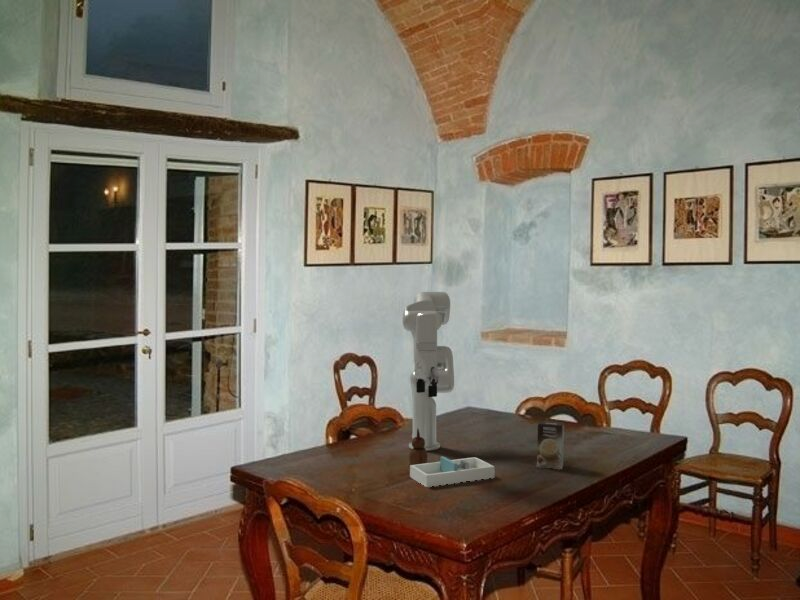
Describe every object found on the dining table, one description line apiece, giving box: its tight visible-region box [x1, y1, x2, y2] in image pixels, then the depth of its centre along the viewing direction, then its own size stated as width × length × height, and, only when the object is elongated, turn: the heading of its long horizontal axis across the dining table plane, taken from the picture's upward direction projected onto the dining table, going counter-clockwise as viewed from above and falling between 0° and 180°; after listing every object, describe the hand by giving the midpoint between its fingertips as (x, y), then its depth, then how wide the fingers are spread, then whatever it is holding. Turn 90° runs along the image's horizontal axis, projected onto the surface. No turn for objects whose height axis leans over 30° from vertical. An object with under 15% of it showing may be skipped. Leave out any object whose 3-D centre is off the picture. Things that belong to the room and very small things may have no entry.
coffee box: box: [536, 419, 565, 470], centre depth 255 cm, size 9×6×16 cm
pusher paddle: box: [439, 455, 469, 472], centre depth 242 cm, size 10×7×5 cm
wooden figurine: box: [408, 428, 428, 465], centre depth 252 cm, size 7×6×15 cm
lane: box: [409, 456, 496, 488], centre depth 242 cm, size 13×26×4 cm, turn 114°
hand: (426, 394), depth 252 cm, fingers open, 9 cm apart
